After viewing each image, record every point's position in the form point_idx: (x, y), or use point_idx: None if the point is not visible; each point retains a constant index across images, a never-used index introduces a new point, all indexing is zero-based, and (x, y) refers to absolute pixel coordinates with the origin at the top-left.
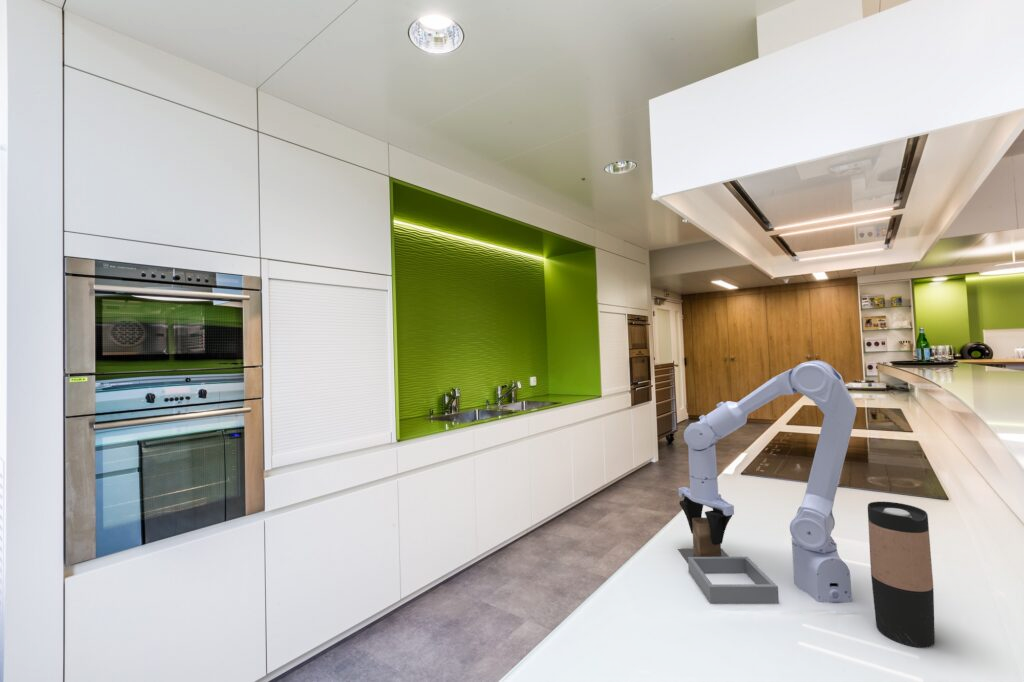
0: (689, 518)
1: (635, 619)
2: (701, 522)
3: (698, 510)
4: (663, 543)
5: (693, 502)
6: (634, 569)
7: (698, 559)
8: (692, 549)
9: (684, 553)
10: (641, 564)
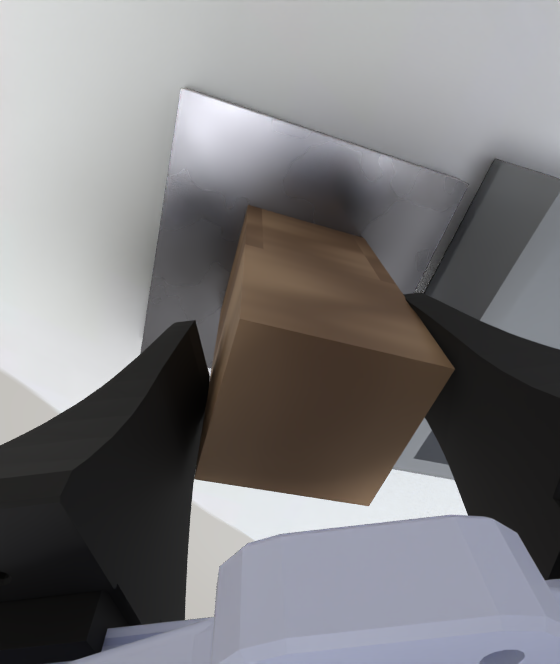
0: (190, 488)
1: None
2: (327, 467)
3: (147, 459)
4: (13, 345)
5: (143, 621)
6: (250, 520)
7: (424, 437)
8: (162, 286)
9: (203, 349)
10: (220, 494)
